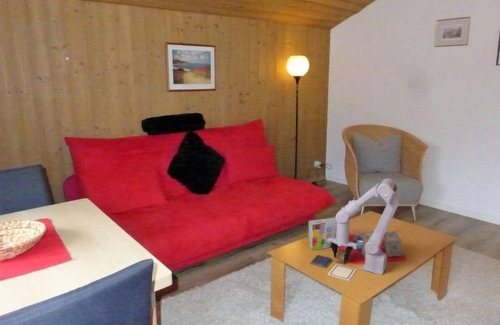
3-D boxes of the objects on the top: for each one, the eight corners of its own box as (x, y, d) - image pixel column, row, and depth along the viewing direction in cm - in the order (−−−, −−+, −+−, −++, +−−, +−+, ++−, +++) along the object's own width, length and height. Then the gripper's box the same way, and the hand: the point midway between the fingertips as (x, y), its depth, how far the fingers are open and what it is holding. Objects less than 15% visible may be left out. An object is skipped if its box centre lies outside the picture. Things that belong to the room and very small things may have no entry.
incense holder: (381, 248, 195) (382, 230, 193) (397, 249, 194) (398, 230, 192) (384, 257, 186) (386, 238, 183) (402, 258, 185) (403, 239, 182)
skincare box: (366, 258, 185) (367, 235, 183) (361, 254, 190) (362, 232, 187) (377, 256, 187) (378, 234, 184) (372, 252, 191) (373, 230, 188)
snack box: (343, 241, 205) (344, 215, 201) (348, 245, 199) (350, 219, 196) (308, 246, 200) (308, 220, 196) (312, 250, 194) (312, 224, 191)
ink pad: (332, 260, 184) (332, 258, 184) (325, 268, 177) (325, 266, 177) (317, 256, 188) (317, 254, 188) (310, 263, 181) (310, 261, 181)
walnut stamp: (346, 260, 184) (347, 251, 183) (343, 264, 180) (343, 255, 179) (339, 258, 186) (339, 249, 185) (335, 262, 182) (336, 253, 181)
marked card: (356, 270, 175) (356, 269, 175) (348, 281, 166) (348, 280, 166) (336, 264, 180) (336, 263, 180) (327, 274, 171) (327, 274, 171)
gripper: (325, 233, 180) (324, 258, 184) (354, 239, 172) (353, 265, 176) (330, 227, 186) (329, 252, 189) (359, 234, 178) (357, 259, 181)
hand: (341, 258), depth 183 cm, fingers open, 5 cm apart
